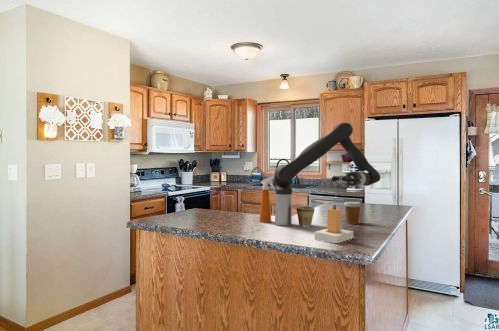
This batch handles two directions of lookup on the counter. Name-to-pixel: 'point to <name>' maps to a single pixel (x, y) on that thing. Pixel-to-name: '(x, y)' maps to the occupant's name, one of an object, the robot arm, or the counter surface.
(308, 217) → the olive green flower pot
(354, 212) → the disposable coffee cup
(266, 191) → the spray bottle
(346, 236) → the socket
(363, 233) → the counter surface
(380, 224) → the counter surface
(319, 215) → the counter surface
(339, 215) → the plug
